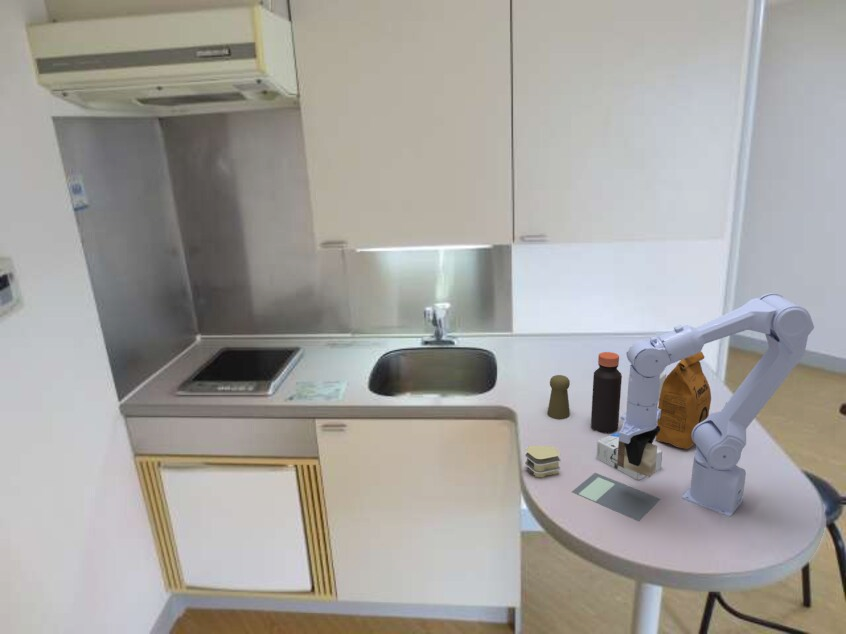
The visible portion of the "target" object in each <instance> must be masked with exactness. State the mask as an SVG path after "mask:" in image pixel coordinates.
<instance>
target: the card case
mask: <svg viewBox="0 0 846 634" xmlns="http://www.w3.org/2000/svg"><path fill="white" fill-rule="evenodd" d="M657 449H658V445H656V444H653V443H652V444H650V443H647V444H646V446H645V448H644V451H643V456H642V460H641V463H640V465H639V466H636V465H633V464H630V463H629V461H628V456H627V452H626V448H625V445H624V443H623V442H621V441H619V444H618V460H617V465H618V466H620V467H623V468H626V469H629V470H632V471H634V472H637V473H640V474H643V475H645V476H646V477H648V478H651V477H652V475H654V474H655V473H656V472H655V469H656V457H657Z"/></svg>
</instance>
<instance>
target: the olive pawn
mask: <svg viewBox="0 0 846 634" xmlns="http://www.w3.org/2000/svg"><path fill="white" fill-rule="evenodd" d="M570 385H571V382H570V379H569V377H567V376H565V375H562V374H555V375H554V376H551V378H550V381H549V386H550V387H551V391H550V396H549V400H548V402H549V403H548V407H547V413H546V414H547V416H548V417H550V418H551V419H555V420H566V419H568V418H570V416H571V412H570V401H569V393H568V389H569V388H570Z"/></svg>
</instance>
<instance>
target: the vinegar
mask: <svg viewBox="0 0 846 634" xmlns="http://www.w3.org/2000/svg"><path fill="white" fill-rule="evenodd" d="M619 363H620V355H619V354H617V353H615V352H613V351H612V352H611V351H605V352H604V351H603V352H600V353H599V354H598V360H597V365H598V368H597V369H595V370H594V372H593V381H592V395H591V397H592V398H591V400H592V401H591V416H590V417H591V419H590V427H591V429H593V430H594V431H595V432H597V433H600V434H601V433H602V434H614V433H616V432H618V429H619V424H620V422H619V421H620V408H621V407H620V406H621V405H620V404H621V394H622V392H621V391H622V378H623V376H622V373H621V372H620V371H619V370H618V367H619V365H620V364H619Z"/></svg>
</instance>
